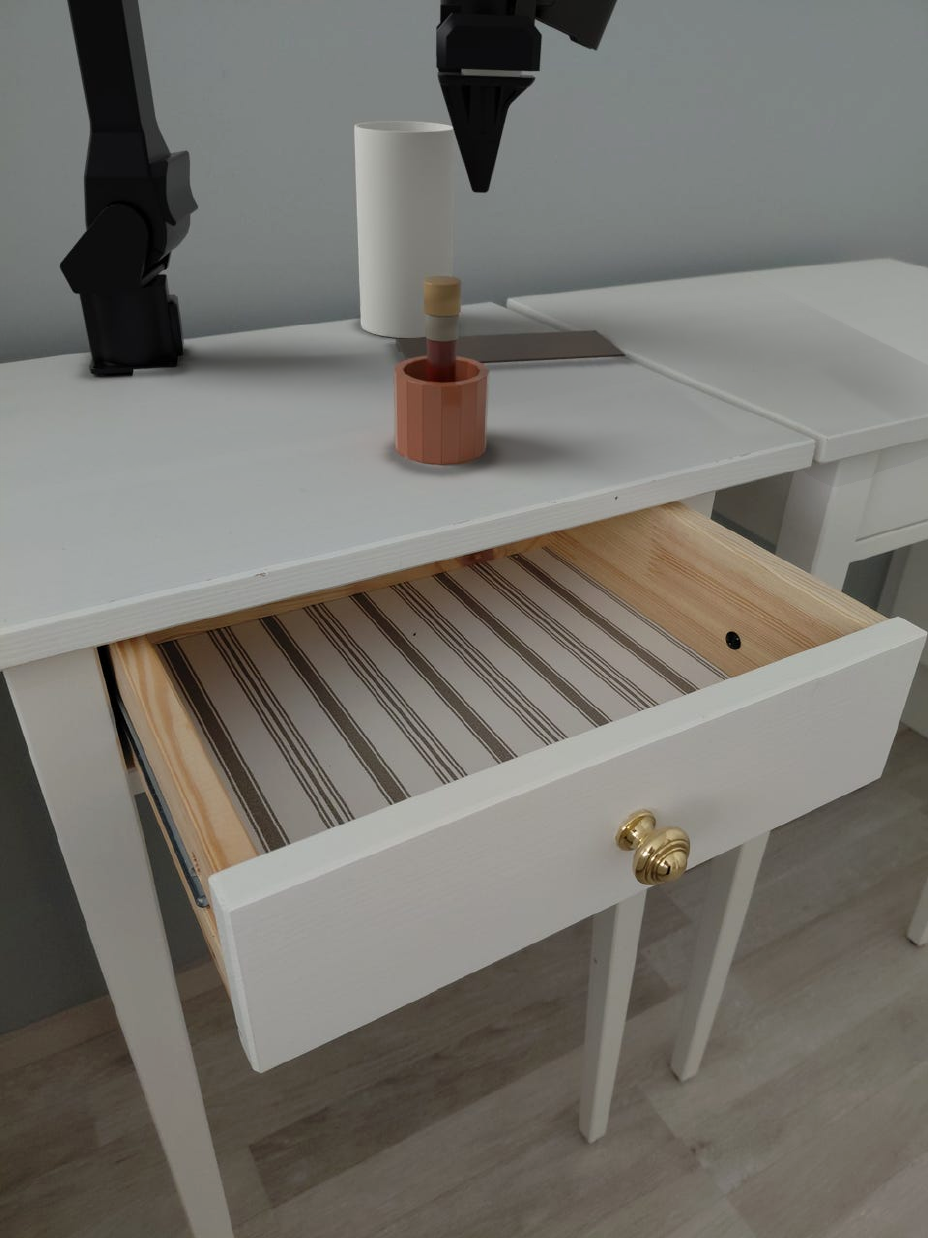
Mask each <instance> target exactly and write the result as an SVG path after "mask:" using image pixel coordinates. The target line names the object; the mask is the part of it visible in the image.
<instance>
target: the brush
mask: <svg viewBox="0 0 928 1238" xmlns="http://www.w3.org/2000/svg"><path fill="white" fill-rule="evenodd" d="M424 312H425V313H426V324H425V336H426V337H425V338H427V382H439V383H447V382H456V360H457V339H458V337H459V336H460V334H459V333H460V313H461V312H462V280H461V279H460V278H458V277H454V276H453V277H450V276H433V277H428V278H426V279H424Z"/></svg>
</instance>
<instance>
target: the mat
mask: <svg viewBox="0 0 928 1238" xmlns="http://www.w3.org/2000/svg"><path fill="white" fill-rule="evenodd" d="M395 346H396V348H397V350H398V352H402V354H403V356H404V358H405V360H407V359H410V358H415V357H420V356H427V338H426V337H421V338H395ZM457 356H458V357H464V358H468V359H473V360H476V361H478V362H480V363H482V364H494V363H513V362H533V361H534V362H535V361H551V360H552V361H553V360H572V359H594V358H611V357H612V358H613V357H625V356H626V354H625V352H623V351H622V350H621V349H619V348H618V347H617V346H616V345H614V344H613V343H612V342H611V341H610V340H608V338H606V337H605V336H604V335H602V334H601V333H600V332H599V331H597V329H594V330H593V329H592V330H591V329H590V330H571V331H570V330H569V331H550V332H549V331H548V332H547V331H546V332H525V333H524V332H523V333H502V334H501V333H500V334H483V335H481V334H480V335H459V337H458V339H457Z"/></svg>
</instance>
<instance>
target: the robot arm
mask: <svg viewBox="0 0 928 1238" xmlns="http://www.w3.org/2000/svg"><path fill="white" fill-rule="evenodd" d="M66 2H67V7H68V12H69V17H70V23H71V28H72V29H71V30H72V34H73V40H74V45H75V51H76V55H77V56H76V57H77V61H78V62H77V63H78V67H79V71H80V78H81V81H82V82H81V83H82V88H83V94H84V99H85V103H86V110H87V115H88V121H89V137H88V144H87V151H86V157H85V158H86V159H85V166H84V174H83V193H84V194H83V196H84V222H85V223H84V224H85V231H84V233H83V234H82V236H80V238H79V239H78V241H77V242H76V243H75V244H74V245H73V247H72V248H70V250H69V251H68V252H67V254H66V256H65V257H64V258H63V259H62V261H60V263H59V268H60V269H59V270H60V272H61V273H62V275H63V276H64V279H65V280H66V282H67V284H68V286H69V287H70V289H71V291H72V293H74V294H76V295H79V301H80V303H81V304H80V305H81V310H82V315H83V319H84V325H85V326H84V327H85V330H86V335H87V340H88V345H89V350H90V355H91V360H90V363H89V366H88V367H89V368H88V369H89V374H91V375H108V374H110V375H111V374H130V373H131V374H133V373H134V370H144V369H145V370H147V369H166V368H167V369H168V368H176V367H178V366H179V363H180V357H182V356H183V355H184V354H185V339H184V332H183V326H182V318H181V317H182V316H181V311H180V303H179V298H178V296H177V294H170V289H169V281H168V275H167V274H165V273H162V272H163V271H167V269H168V268H169V267H170V261H171V257H172V253H173V251H174V250H175V249H176V248H177V247H178V246H180V244H181V243H182V242H183V241H184V239H185V238H186V236H187V235H188V233H189V230H190V228H191V214H193V213H195V212H196V211H197V210H198V209H199V205H198V203H197V200H196V198H195V197H194V195H193V190H192V186H191V157H190V152H189V151H188V150H181V151H175V152H171V151H170V149H169V147H168V145H167V142H166V140H165V138H164V135H163V134H162V132H161V129H160V127H159V124H158V121H157V118H156V111H155V105H154V98H153V97H154V96H153V92H152V84H151V77H150V71H149V63H148V58H147V57H148V56H147V51H146V44H145V39H144V31H143V24H142V17H141V11H140V6H139V5H140V4H139V0H66ZM617 2H618V0H439V3H440V4H439V23H438V24H437V25H436V26H435V27H436V28H435V68H437V74H436V75H437V76H436V77H437V80H438V84H439V86H440V91H441V93H442V97H443V100H444V103H445V107H446V110H447V112H448V117H449V119H450V123H451V126H453V130H454V133H455V140H456V142H457V145H458V150H459V152H460V155H461V159H462V162H463V165H464V169H465V172H466V175H467V179H468V182H469V185H470V189H471V191H472V192H473V193H476V194H477V193H478V194H486V193H488V192H489V190H490V187H491V182H492V178H493V174H494V169H495V165H496V162H497V158H498V152H499V148H500V144H501V140H502V136H503V132H504V127H505V124H506V119H507V116H508V112H509V108H510V106H511V105H512V104H513V103H514V102H515V101H516V100H517V99H518V98H519V97H520V96H521V95H522V94H523V93H524V92H525V91H526V90H527V89H528V88H530V87H531V86H532V85H533V84H534V83H535V81H536V76H534V75H532V74H523V72H541V55H542V43H543V35H542V33H541V31H540V30H539V29H538V27H537V26H536V21H537V22H539V23H542V24H544V25H546V26H548V27H550V28H551V29H554V30H556V31H558V32H561V33H562V34H565V35H566V36H568V37H569V40H570V41H571V42H573V43H575V44H577V45H579V46H582V47H584V48H585V49H588V50H592V51H595V52H596V51H598V48H599V46H600V44H601V42H602V39H603V37H604V34H605V32H606V29H607V26H608V24H609V22H610V19H611V18H612V14H613V12H614V9H615V6H616V4H617Z"/></svg>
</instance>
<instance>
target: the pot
mask: <svg viewBox="0 0 928 1238" xmlns="http://www.w3.org/2000/svg"><path fill="white" fill-rule="evenodd" d="M489 392H490V369H489V368H488V367H487V365H485V363H480V362H478V361H476V360H473V359H468V358H464V357H458V356H457V360H456V382H447V383H439V382H427V356H420V357H415V358H410V359H404V360H401V361H400V362H398V363H397V364H396V366H395V367H394V369H393V402H394V403H393V407H394V408H393V410H394V411H393V413H394V414H393V415H394V447H395V450H396V451H397V453H398V454H399V455H400V456H401V457H404V458H405V459H407V460H410V461H413V462H416V463H420V464H425V465H432V466H450V465H451V466H452V465H459V464H465V463H468V462H472V461H474V460H476V459H478V458H480V457H481V456H483V454H485V452H486V449H487V444H488V443H487V442H488V419H489V417H488V416H489V395H490V393H489Z"/></svg>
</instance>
